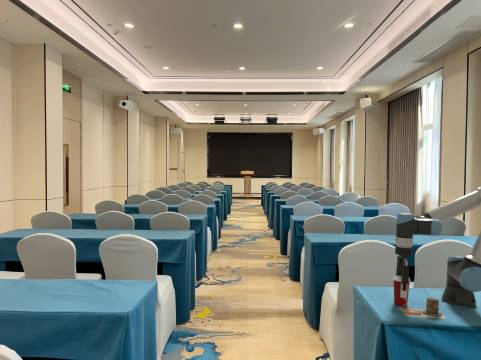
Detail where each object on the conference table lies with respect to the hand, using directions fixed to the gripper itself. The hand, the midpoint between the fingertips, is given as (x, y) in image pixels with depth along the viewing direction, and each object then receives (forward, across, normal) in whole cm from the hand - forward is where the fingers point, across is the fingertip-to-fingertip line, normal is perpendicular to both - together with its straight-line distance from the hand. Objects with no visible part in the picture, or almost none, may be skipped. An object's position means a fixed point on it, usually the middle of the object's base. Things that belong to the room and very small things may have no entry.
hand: (401, 294), depth 208 cm
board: (+6, +11, +6) cm, 14 cm away
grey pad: (+5, +11, +11) cm, 16 cm away
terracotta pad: (+5, +11, +2) cm, 12 cm away
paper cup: (+6, 0, 0) cm, 6 cm away
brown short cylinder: (+4, +11, +11) cm, 16 cm away
